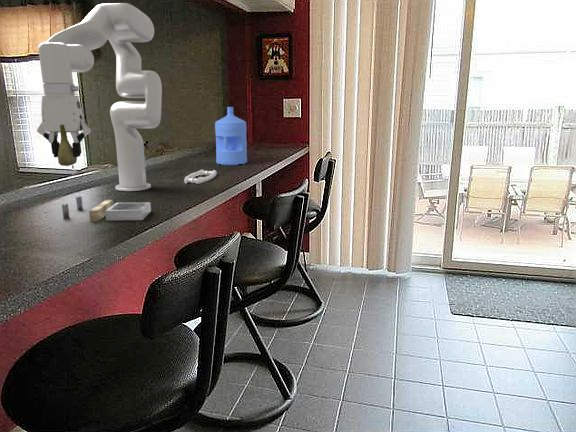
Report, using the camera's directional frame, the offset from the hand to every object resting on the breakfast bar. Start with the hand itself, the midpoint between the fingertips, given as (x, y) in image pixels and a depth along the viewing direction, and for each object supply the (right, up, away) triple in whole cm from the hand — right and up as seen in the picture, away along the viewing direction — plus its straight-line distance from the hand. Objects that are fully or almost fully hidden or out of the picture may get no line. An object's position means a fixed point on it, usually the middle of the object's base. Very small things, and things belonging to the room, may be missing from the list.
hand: (67, 156), depth 133 cm
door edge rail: (+9, -17, +3) cm, 19 cm away
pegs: (0, -16, +4) cm, 17 cm away
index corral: (+17, -17, +2) cm, 24 cm away
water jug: (+34, +9, +104) cm, 110 cm away
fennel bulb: (0, -3, +1) cm, 3 cm away
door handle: (+27, -2, +61) cm, 67 cm away
